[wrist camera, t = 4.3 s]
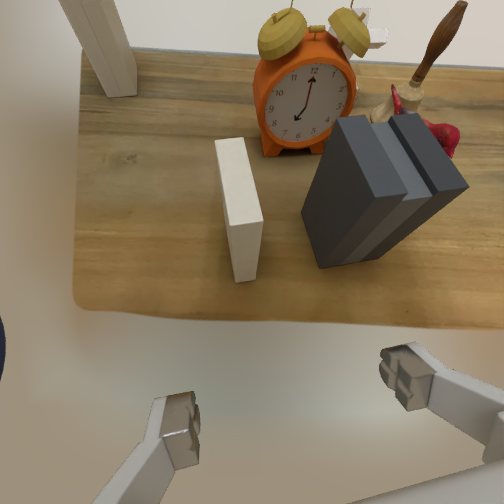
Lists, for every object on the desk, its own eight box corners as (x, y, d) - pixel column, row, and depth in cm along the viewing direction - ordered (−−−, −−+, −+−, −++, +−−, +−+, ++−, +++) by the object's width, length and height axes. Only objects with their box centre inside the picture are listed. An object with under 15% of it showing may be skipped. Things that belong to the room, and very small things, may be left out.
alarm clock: (255, 159, 40) (265, -14, 21) (250, 133, 42) (256, -42, 24) (334, 155, 41) (408, -15, 22) (325, 129, 43) (385, -42, 25)
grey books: (319, 268, 32) (375, 197, 18) (300, 211, 36) (336, 117, 22) (378, 258, 33) (474, 183, 19) (354, 204, 37) (420, 108, 23)
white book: (235, 283, 31) (229, 226, 18) (225, 222, 34) (214, 139, 22) (255, 279, 31) (263, 220, 18) (243, 220, 35) (243, 136, 22)
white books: (108, 98, 45) (48, -19, 31) (110, 69, 48) (58, -47, 35) (137, 95, 45) (91, -21, 32) (137, 67, 49) (96, -48, 35)
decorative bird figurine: (403, 198, 37) (455, 144, 28) (365, 119, 45) (397, 57, 35) (421, 196, 37) (477, 143, 28) (380, 118, 45) (415, 56, 36)
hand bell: (361, 119, 44) (418, 1, 30) (385, 99, 47) (447, -18, 33) (401, 143, 42) (484, 28, 28) (424, 120, 45) (510, 4, 30)
